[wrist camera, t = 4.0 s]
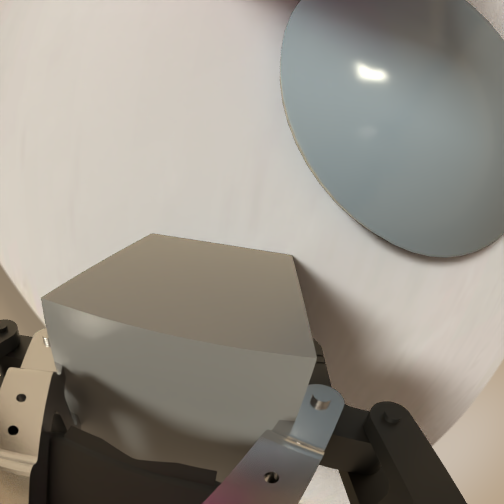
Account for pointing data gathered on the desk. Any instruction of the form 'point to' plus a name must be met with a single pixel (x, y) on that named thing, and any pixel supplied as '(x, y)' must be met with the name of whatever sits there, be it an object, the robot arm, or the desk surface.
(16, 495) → the robot arm
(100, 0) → the desk surface
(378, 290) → the desk surface
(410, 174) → the dish
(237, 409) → the cover
